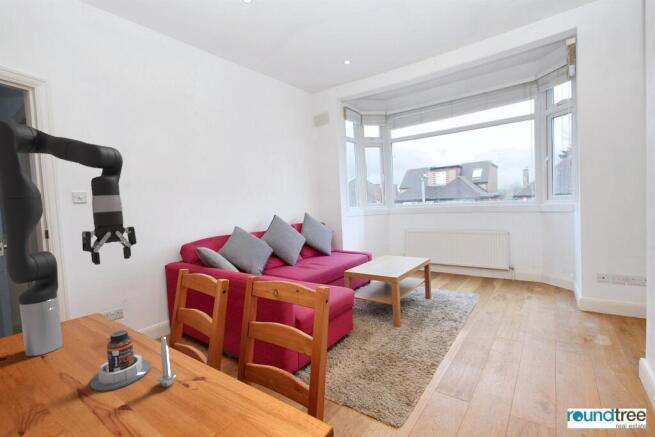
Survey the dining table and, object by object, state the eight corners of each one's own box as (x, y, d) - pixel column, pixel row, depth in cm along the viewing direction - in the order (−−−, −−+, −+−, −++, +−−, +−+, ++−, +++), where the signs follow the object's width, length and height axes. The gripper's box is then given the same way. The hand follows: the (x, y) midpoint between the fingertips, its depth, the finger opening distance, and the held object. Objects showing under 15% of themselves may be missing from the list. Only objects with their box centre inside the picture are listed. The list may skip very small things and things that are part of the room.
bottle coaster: (80, 382, 82) (78, 371, 82) (133, 357, 94) (132, 347, 94) (107, 397, 75) (106, 384, 75) (161, 368, 88) (160, 357, 87)
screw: (164, 378, 82) (181, 378, 82) (152, 389, 78) (170, 389, 77) (160, 332, 82) (177, 332, 81) (148, 340, 77) (166, 340, 76)
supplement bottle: (122, 379, 82) (118, 338, 81) (103, 377, 83) (99, 337, 82) (139, 366, 87) (136, 328, 87) (122, 365, 89) (118, 327, 88)
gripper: (125, 209, 102) (129, 256, 104) (74, 212, 90) (80, 265, 91) (138, 208, 99) (142, 257, 100) (86, 211, 86) (92, 267, 88)
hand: (112, 261), depth 96 cm, fingers open, 8 cm apart
